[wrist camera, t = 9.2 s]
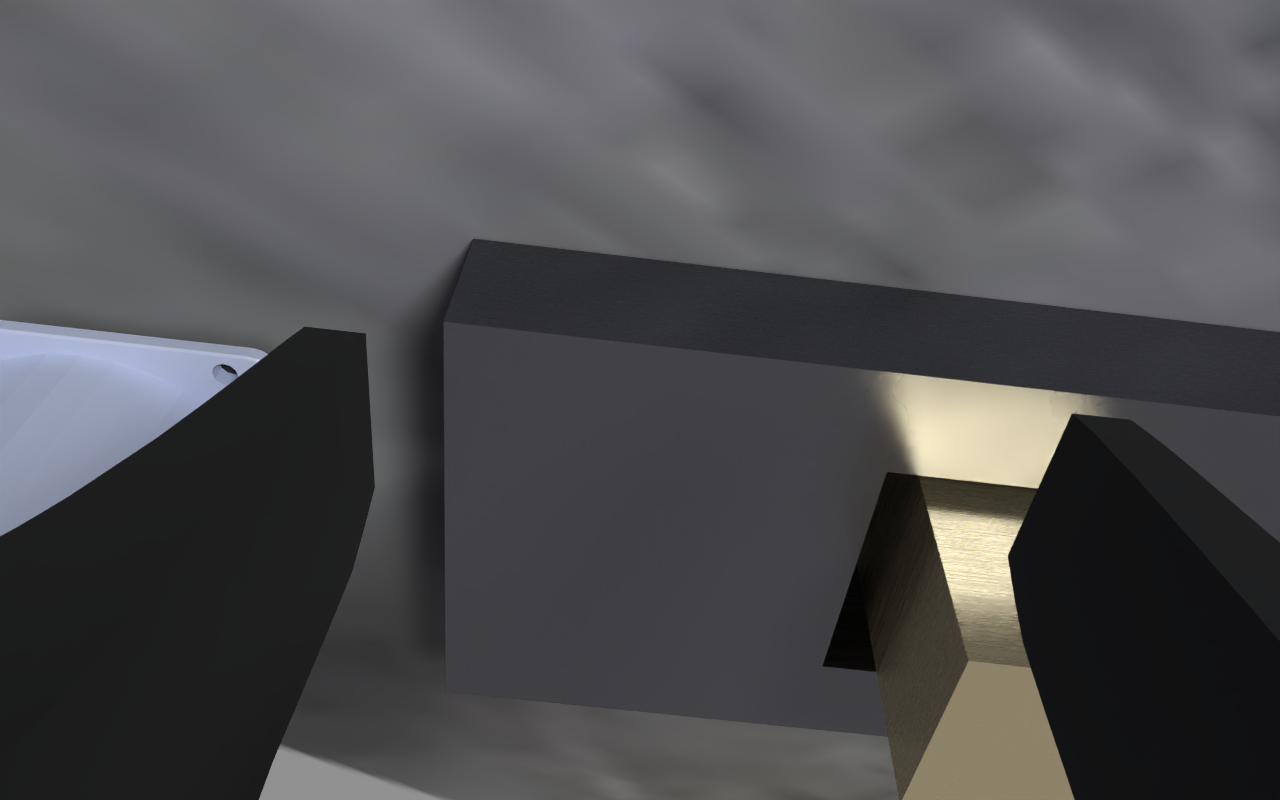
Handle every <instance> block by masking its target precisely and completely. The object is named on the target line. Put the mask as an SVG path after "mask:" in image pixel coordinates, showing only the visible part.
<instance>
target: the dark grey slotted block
mask: <svg viewBox="0 0 1280 800" xmlns="http://www.w3.org/2000/svg"><path fill="white" fill-rule="evenodd" d="M443 325H444V502H445V678H446V692H453V693H463V694H473V695H483V696H493V697H503V698H512V699H522V700H532V701H542V702H552V703H562V704H571V705H581V706H591V707H601V708H611V709H621V710H630V711H640V712H650V713H660V714H670V715H680V716H690V717H699V718H709V719H719V720H729V721H739V722H749V723H758V724H768V725H778V726H788V727H798V728H808V729H817V730H827V731H837V732H847V733H857V734H867V735H876V736H886V737H888V734H887V728H886V723H885V717H884V712H883V706H882V700H881V695H880V689H879V684H878V678H877V672H876V667H875V661H874V656H873V650H872V645H871V639H870V633H869V628H868V622H867V617H866V611H865V605H864V600H863V594H862V589H861V583H860V578H859V572H856V571H854V569H855V566H856V563H857V560H858V557H859V554H860V551H861V548H862V545H863V542H864V539H865V536H866V533H867V530H868V527H869V524H870V521H871V518H872V515H873V512H874V509H875V506H876V503H877V500H878V497H879V494H880V491H881V488H882V485H883V482H884V479H885V476H886V473H887V472H892V473H902V474H911V475H920V476H929V477H938V478H947V479H956V480H965V481H974V482H983V483H992V484H1001V485H1011V486H1020V487H1029V488H1038V487H1039V485H1040V483H1041V481H1042V478H1043V476H1044V474H1045V472H1046V470H1047V467H1048V465H1049V463H1050V461H1051V459H1052V456H1053V454H1054V452H1055V450H1056V448H1057V445H1058V443H1059V441H1060V439H1061V437H1062V434H1063V432H1064V430H1065V428H1066V425H1067V423H1068V421H1069V419H1070V417H1071V414H1072V413H1075V414H1084V415H1093V416H1101V417H1110V418H1119V419H1128V420H1132V421H1133V422H1135V423H1136V424H1137V425H1139V426H1140V427H1141V428H1143V429H1144V430H1146V431H1147V432H1148V433H1150V434H1151V435H1152V436H1154V437H1155V438H1156V439H1157V440H1159V441H1160V442H1161V443H1162V444H1164V445H1165V446H1166V447H1167V448H1169V449H1170V450H1171V451H1172V452H1174V453H1175V454H1176V455H1177V456H1178V457H1180V458H1181V459H1182V460H1183V461H1184V462H1186V463H1187V464H1188V465H1189V466H1190V467H1192V468H1193V469H1194V470H1195V471H1196V472H1198V473H1199V474H1200V475H1201V476H1202V477H1203V478H1205V479H1206V480H1207V481H1208V482H1209V483H1211V484H1212V485H1213V486H1214V487H1215V488H1216V489H1218V490H1219V491H1220V492H1221V493H1222V494H1223V495H1225V496H1226V497H1227V498H1228V499H1229V500H1230V501H1232V502H1233V503H1234V504H1235V505H1236V506H1237V507H1239V508H1240V509H1241V510H1242V511H1243V512H1244V513H1246V514H1247V515H1248V516H1249V517H1250V518H1252V519H1253V520H1254V521H1255V522H1256V523H1257V524H1259V525H1260V526H1261V527H1262V528H1263V529H1264V530H1266V531H1267V532H1268V533H1269V534H1270V535H1272V536H1273V537H1274V538H1275V539H1276V540H1278V541H1279V542H1280V332H1272V331H1263V330H1255V329H1246V328H1237V327H1229V326H1220V325H1212V324H1203V323H1194V322H1186V321H1177V320H1169V319H1160V318H1151V317H1143V316H1134V315H1125V314H1117V313H1108V312H1100V311H1091V310H1082V309H1074V308H1065V307H1057V306H1048V305H1039V304H1031V303H1022V302H1013V301H1005V300H996V299H988V298H979V297H970V296H962V295H953V294H945V293H936V292H927V291H919V290H910V289H901V288H893V287H884V286H876V285H867V284H858V283H850V282H841V281H832V280H824V279H815V278H807V277H798V276H789V275H781V274H772V273H764V272H755V271H746V270H738V269H729V268H720V267H712V266H703V265H695V264H686V263H677V262H669V261H660V260H652V259H643V258H634V257H626V256H617V255H608V254H600V253H591V252H583V251H574V250H565V249H557V248H548V247H540V246H531V245H522V244H514V243H505V242H496V241H488V240H479V239H473V241H472V244H471V247H470V250H469V252H468V255H467V258H466V261H465V263H464V266H463V269H462V272H461V275H460V277H459V280H458V283H457V286H456V288H455V291H454V294H453V297H452V299H451V302H450V305H449V308H448V311H447V313H446V316H445V319H444V322H443Z"/></svg>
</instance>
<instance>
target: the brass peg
mask: <svg viewBox="0 0 1280 800" xmlns="http://www.w3.org/2000/svg"><path fill="white" fill-rule="evenodd" d="M1037 490H1038V488H1029V487H1020V486H1011V485H1001V484H992V483H983V482H974V481H965V480H956V479H947V478H938V477H929V476H920V475H911V474H902V473H892V472H887V473H886V476H885V479H884V482H883V485H882V488H881V491H880V494H879V497H878V500H877V503H876V506H875V509H874V512H873V515H872V518H871V521H870V524H869V527H868V530H867V533H866V536H865V539H864V542H863V545H862V548H861V551H860V554H859V557H858V560H857V566H858V572H859V578H860V583H861V589H862V594H863V600H864V605H865V611H866V617H867V622H868V628H869V633H870V639H871V645H872V650H873V656H874V661H875V667H876V672H877V678H878V684H879V689H880V695H881V700H882V706H883V712H884V717H885V723H886V728H887V734H888V739H889V745H890V751H891V756H892V762H893V767H894V773H895V779H896V784H897V790H898V795H899V800H1074V797H1073V794H1072V791H1071V788H1070V785H1069V782H1068V779H1067V776H1066V773H1065V770H1064V767H1063V764H1062V761H1061V758H1060V755H1059V752H1058V749H1057V746H1056V743H1055V740H1054V737H1053V734H1052V731H1051V728H1050V725H1049V722H1048V719H1047V716H1046V713H1045V710H1044V707H1043V704H1042V701H1041V698H1040V695H1039V692H1038V689H1037V686H1036V683H1035V680H1034V677H1033V673H1032V670H1031V667H1030V664H1029V661H1028V658H1027V654H1026V651H1025V648H1024V645H1023V641H1022V636H1021V631H1020V626H1019V620H1018V615H1017V610H1016V605H1015V599H1014V593H1013V587H1012V580H1011V574H1010V568H1009V561H1008V554H1009V551H1010V549H1011V547H1012V545H1013V543H1014V540H1015V538H1016V536H1017V534H1018V531H1019V529H1020V527H1021V525H1022V523H1023V520H1024V518H1025V516H1026V514H1027V512H1028V509H1029V507H1030V505H1031V503H1032V501H1033V498H1034V496H1035V494H1036V492H1037Z"/></svg>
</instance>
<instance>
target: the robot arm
mask: <svg viewBox="0 0 1280 800" xmlns="http://www.w3.org/2000/svg"><path fill="white" fill-rule="evenodd" d="M220 364H225V365H228V366H231V367H232V368H233V369H234V370H236V372H237V374H232V373H228V372H226V371H225V370H224V369H223V368H222V367H221V365H220ZM374 488H375V484H374V467H373V450H372V434H371V417H370V400H369V383H368V366H367V350H366V334H365V333H356V332H347V331H338V330H329V329H320V328H311V327H304V328H302V329H301V330H299V331H298V332H297V333H295V334H294V335H293V336H291V337H290V338H289V339H287V340H286V341H285V342H283V343H282V344H281V345H279V346H278V347H277V348H275V349H274V350H273V351H272V352H270V353H269V354H267V353H265V352H263V351H261V350H258V349H254V348H247V347H238V346H229V345H220V344H211V343H202V342H193V341H184V340H175V339H166V338H157V337H148V336H140V335H131V334H122V333H113V332H104V331H95V330H86V329H77V328H68V327H59V326H50V325H41V324H32V323H23V322H14V321H5V320H0V800H259V797H260V794H261V792H262V789H263V786H264V784H265V781H266V778H267V776H268V773H269V770H270V767H271V765H272V762H273V760H274V757H275V755H276V753H277V750H278V748H279V745H280V743H281V741H282V738H283V736H284V734H285V731H286V729H287V726H288V724H289V722H290V719H291V717H292V715H293V712H294V710H295V707H296V705H297V703H298V700H299V698H300V696H301V693H302V691H303V688H304V686H305V684H306V681H307V679H308V677H309V674H310V672H311V669H312V667H313V665H314V662H315V660H316V658H317V655H318V653H319V650H320V648H321V646H322V643H323V641H324V639H325V636H326V634H327V631H328V629H329V626H330V624H331V622H332V619H333V617H334V614H335V612H336V610H337V607H338V605H339V602H340V600H341V597H342V595H343V593H344V590H345V588H346V585H347V583H348V580H349V578H350V575H351V573H352V569H353V566H354V562H355V559H356V555H357V552H358V548H359V545H360V541H361V538H362V534H363V530H364V526H365V523H366V519H367V515H368V511H369V507H370V503H371V500H372V496H373V492H374ZM1008 561H1009V568H1010V574H1011V580H1012V587H1013V593H1014V599H1015V605H1016V610H1017V615H1018V620H1019V626H1020V631H1021V636H1022V641H1023V645H1024V648H1025V651H1026V654H1027V658H1028V661H1029V664H1030V667H1031V670H1032V673H1033V677H1034V680H1035V683H1036V686H1037V689H1038V692H1039V695H1040V698H1041V701H1042V704H1043V707H1044V710H1045V713H1046V716H1047V719H1048V722H1049V725H1050V728H1051V731H1052V734H1053V737H1054V740H1055V743H1056V746H1057V749H1058V752H1059V755H1060V758H1061V761H1062V764H1063V767H1064V770H1065V773H1066V776H1067V779H1068V782H1069V785H1070V788H1071V791H1072V794H1073V797H1074V800H1280V542H1279V541H1278V540H1276V539H1275V538H1274V537H1273V536H1272V535H1270V534H1269V533H1268V532H1267V531H1266V530H1264V529H1263V528H1262V527H1261V526H1260V525H1259V524H1257V523H1256V522H1255V521H1254V520H1253V519H1252V518H1250V517H1249V516H1248V515H1247V514H1246V513H1244V512H1243V511H1242V510H1241V509H1240V508H1239V507H1237V506H1236V505H1235V504H1234V503H1233V502H1232V501H1230V500H1229V499H1228V498H1227V497H1226V496H1225V495H1223V494H1222V493H1221V492H1220V491H1219V490H1218V489H1216V488H1215V487H1214V486H1213V485H1212V484H1211V483H1209V482H1208V481H1207V480H1206V479H1205V478H1203V477H1202V476H1201V475H1200V474H1199V473H1198V472H1196V471H1195V470H1194V469H1193V468H1192V467H1190V466H1189V465H1188V464H1187V463H1186V462H1184V461H1183V460H1182V459H1181V458H1180V457H1178V456H1177V455H1176V454H1175V453H1174V452H1172V451H1171V450H1170V449H1169V448H1167V447H1166V446H1165V445H1164V444H1162V443H1161V442H1160V441H1159V440H1157V439H1156V438H1155V437H1154V436H1152V435H1151V434H1150V433H1148V432H1147V431H1146V430H1144V429H1143V428H1141V427H1140V426H1139V425H1137V424H1136V423H1135V422H1133V421H1132V420H1128V419H1119V418H1110V417H1101V416H1093V415H1084V414H1075V413H1072V414H1071V417H1070V419H1069V421H1068V423H1067V425H1066V428H1065V430H1064V432H1063V434H1062V437H1061V439H1060V441H1059V443H1058V445H1057V448H1056V450H1055V452H1054V454H1053V456H1052V459H1051V461H1050V463H1049V465H1048V467H1047V470H1046V472H1045V474H1044V476H1043V478H1042V481H1041V483H1040V485H1039V487H1038V490H1037V492H1036V494H1035V496H1034V498H1033V501H1032V503H1031V505H1030V507H1029V509H1028V512H1027V514H1026V516H1025V518H1024V520H1023V523H1022V525H1021V527H1020V529H1019V531H1018V534H1017V536H1016V538H1015V540H1014V543H1013V545H1012V547H1011V549H1010V551H1009V554H1008Z"/></svg>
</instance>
